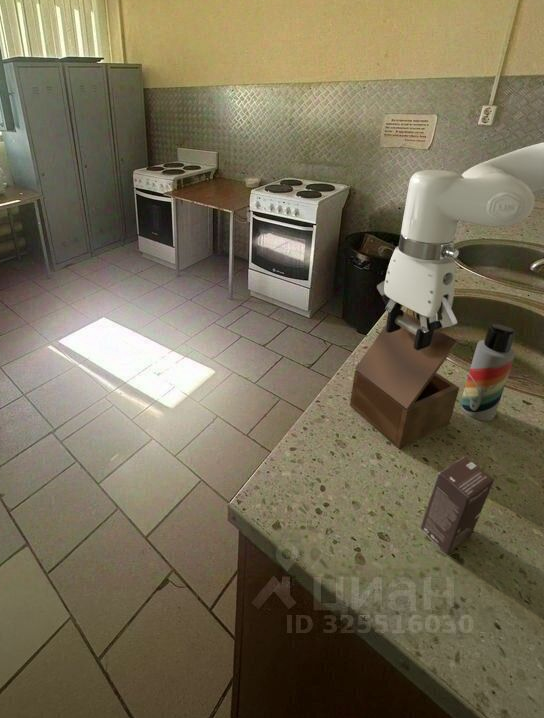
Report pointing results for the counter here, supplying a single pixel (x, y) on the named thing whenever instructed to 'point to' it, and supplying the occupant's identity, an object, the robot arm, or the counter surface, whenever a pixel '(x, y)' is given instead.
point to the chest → (404, 409)
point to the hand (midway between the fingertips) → (406, 337)
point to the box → (456, 504)
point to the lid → (404, 360)
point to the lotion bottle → (488, 373)
